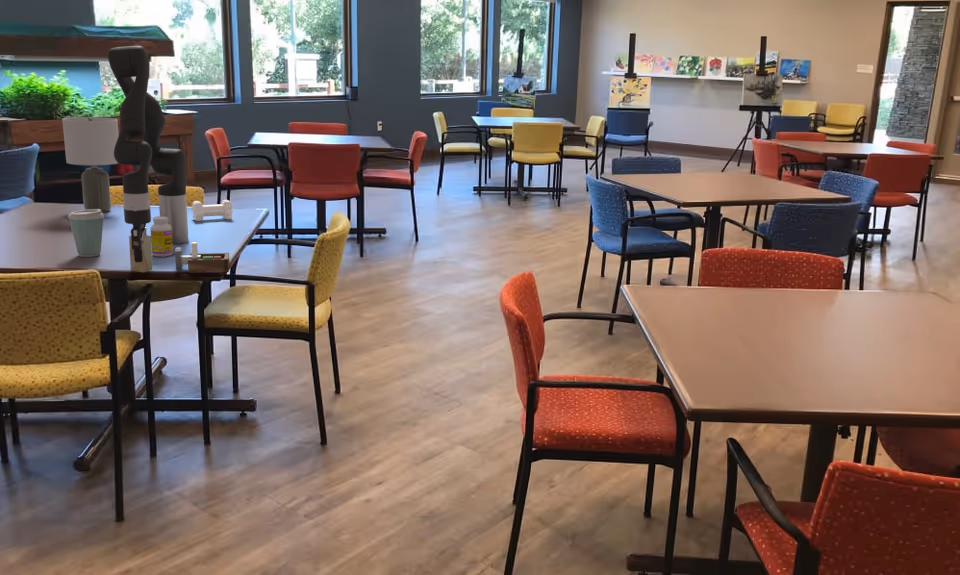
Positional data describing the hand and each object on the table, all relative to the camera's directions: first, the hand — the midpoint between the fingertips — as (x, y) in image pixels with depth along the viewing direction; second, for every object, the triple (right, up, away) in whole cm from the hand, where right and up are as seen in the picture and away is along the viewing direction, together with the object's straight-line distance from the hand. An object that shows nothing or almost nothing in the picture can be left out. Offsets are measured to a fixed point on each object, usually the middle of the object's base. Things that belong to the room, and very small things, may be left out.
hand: (140, 258), depth 248 cm
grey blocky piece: (+13, -3, +5) cm, 14 cm away
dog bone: (-5, +19, +82) cm, 84 cm away
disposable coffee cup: (-24, +2, +17) cm, 29 cm away
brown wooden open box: (+19, -3, +6) cm, 21 cm away
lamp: (-55, +23, +88) cm, 106 cm away
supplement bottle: (-1, +2, +21) cm, 21 cm away
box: (0, -4, +1) cm, 4 cm away
